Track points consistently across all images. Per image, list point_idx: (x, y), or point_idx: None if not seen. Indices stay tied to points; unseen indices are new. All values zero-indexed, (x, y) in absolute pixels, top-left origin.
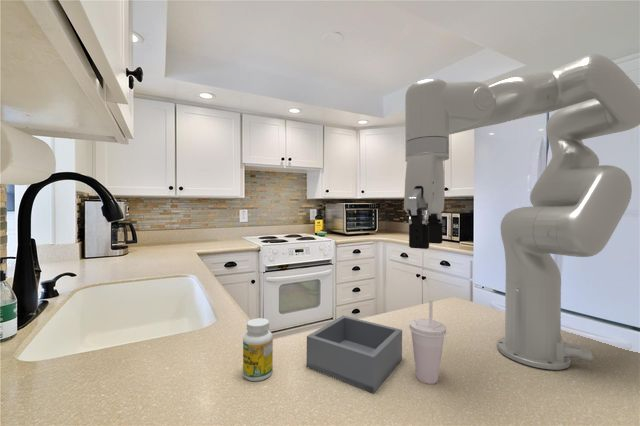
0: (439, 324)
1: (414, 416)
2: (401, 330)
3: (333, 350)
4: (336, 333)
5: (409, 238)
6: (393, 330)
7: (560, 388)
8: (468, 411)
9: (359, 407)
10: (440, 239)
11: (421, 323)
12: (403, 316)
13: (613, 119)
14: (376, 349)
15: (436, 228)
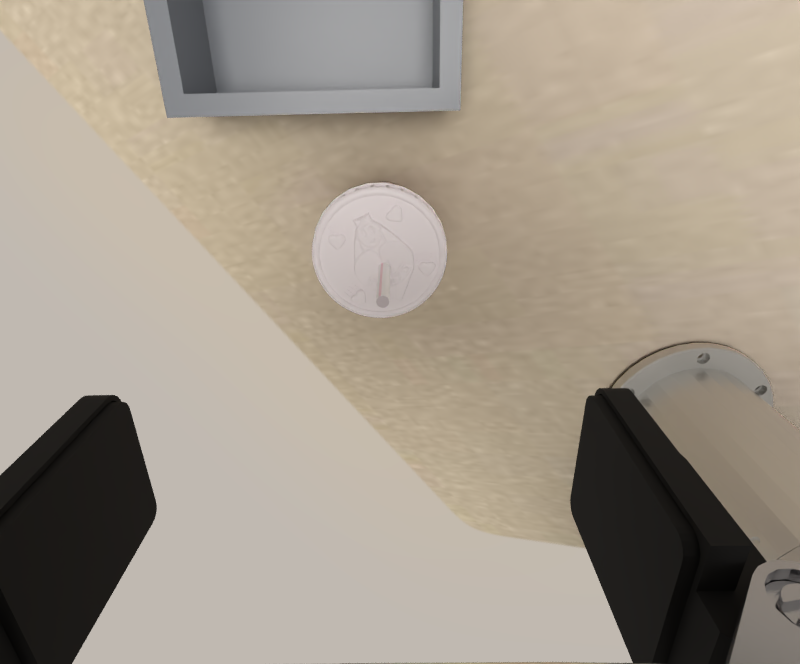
0: (401, 294)
1: (206, 233)
2: (451, 110)
3: None
4: None
5: (41, 440)
6: (440, 76)
7: (521, 456)
8: (307, 321)
9: (132, 107)
10: (582, 529)
11: (368, 237)
12: None
13: None
14: (223, 98)
15: (629, 596)
